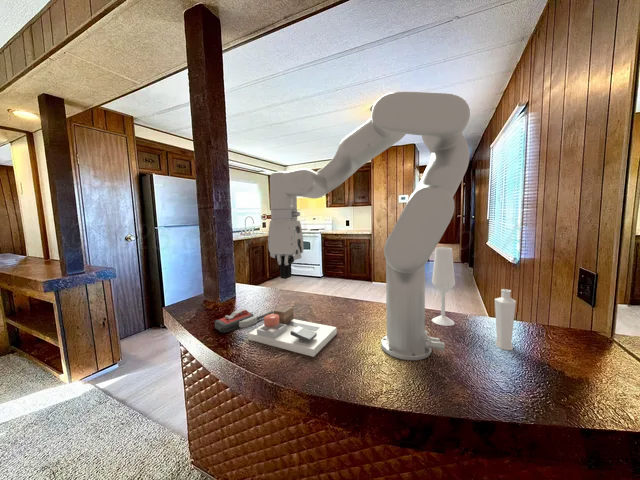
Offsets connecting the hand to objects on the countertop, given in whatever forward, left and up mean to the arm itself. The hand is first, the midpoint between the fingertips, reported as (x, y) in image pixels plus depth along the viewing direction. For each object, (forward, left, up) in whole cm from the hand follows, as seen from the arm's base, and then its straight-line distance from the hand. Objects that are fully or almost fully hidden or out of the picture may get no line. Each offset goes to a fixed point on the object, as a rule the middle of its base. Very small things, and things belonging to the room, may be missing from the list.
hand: (285, 277), depth 75 cm
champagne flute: (-41, -29, -18) cm, 53 cm away
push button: (+3, +4, -13) cm, 14 cm away
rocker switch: (-8, +4, -14) cm, 17 cm away
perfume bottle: (-56, -18, -18) cm, 61 cm away
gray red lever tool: (+20, -2, -18) cm, 27 cm away
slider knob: (+4, -3, -15) cm, 16 cm away
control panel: (-2, 0, -18) cm, 18 cm away
